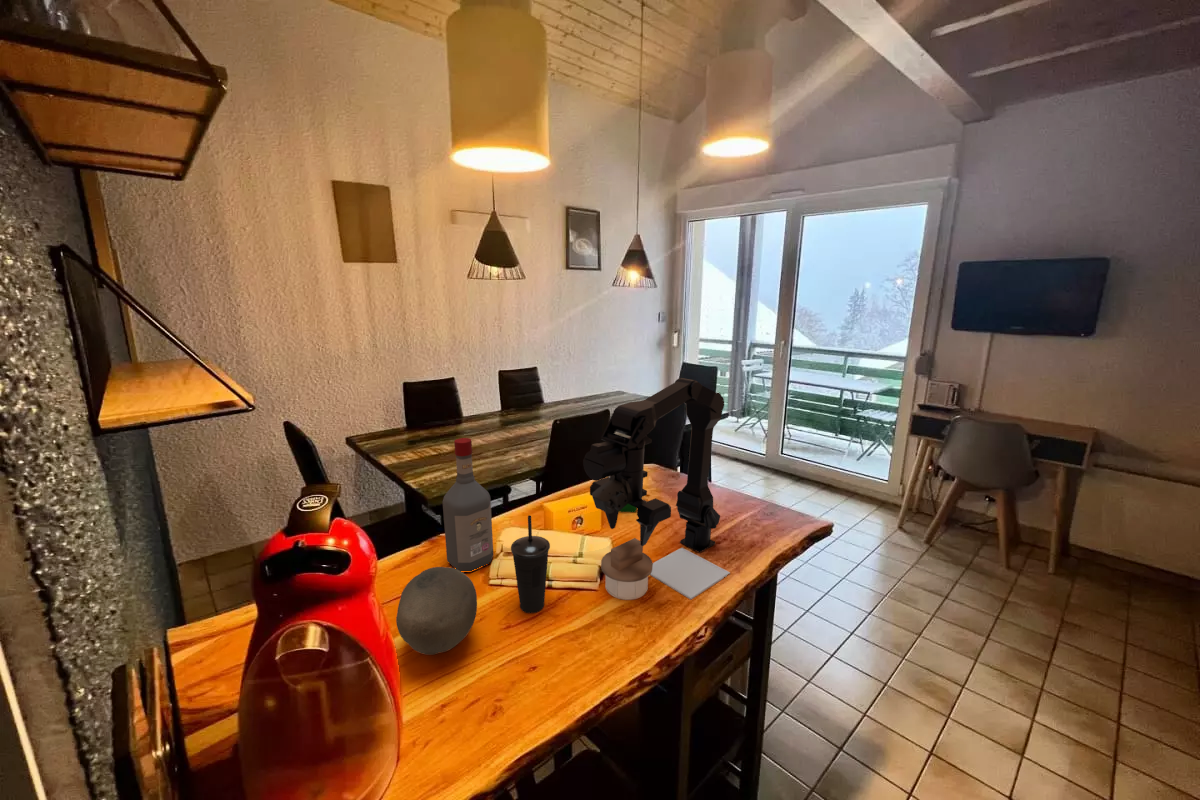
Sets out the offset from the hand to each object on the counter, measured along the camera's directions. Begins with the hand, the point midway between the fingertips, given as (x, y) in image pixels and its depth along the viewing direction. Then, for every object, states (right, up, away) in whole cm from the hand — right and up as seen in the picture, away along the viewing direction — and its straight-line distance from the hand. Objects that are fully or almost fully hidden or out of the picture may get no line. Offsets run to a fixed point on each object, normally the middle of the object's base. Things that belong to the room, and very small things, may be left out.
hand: (627, 536), depth 104 cm
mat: (+14, -10, +8) cm, 19 cm away
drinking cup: (-20, -13, -3) cm, 24 cm away
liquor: (-36, -9, +12) cm, 39 cm away
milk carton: (+1, -3, +40) cm, 40 cm away
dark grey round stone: (-35, -16, -15) cm, 41 cm away
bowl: (0, -12, +3) cm, 12 cm away
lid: (0, -7, +2) cm, 7 cm away
